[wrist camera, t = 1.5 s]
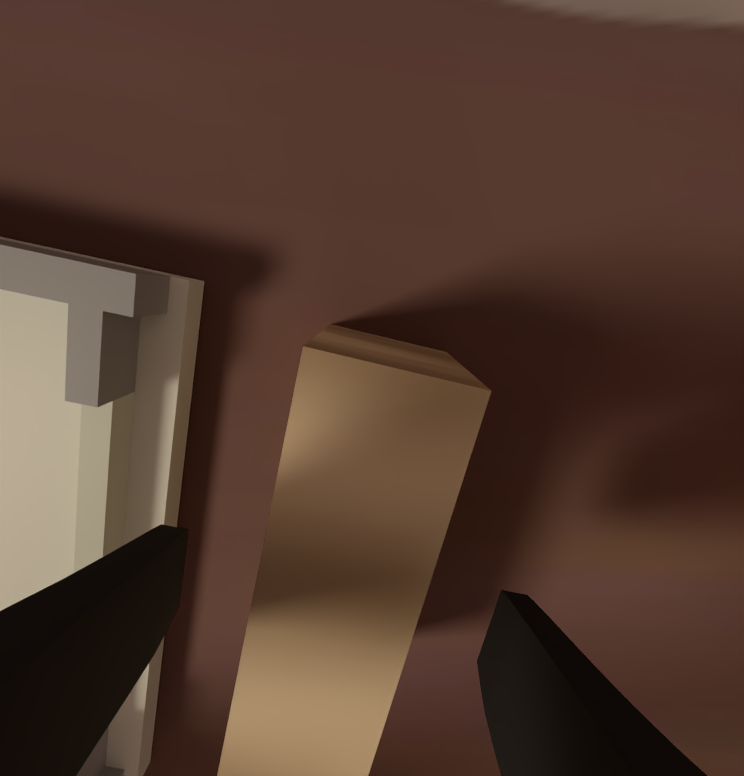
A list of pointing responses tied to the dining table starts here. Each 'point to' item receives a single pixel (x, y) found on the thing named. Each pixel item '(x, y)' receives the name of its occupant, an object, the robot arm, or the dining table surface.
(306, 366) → the tan wooden block
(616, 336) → the dining table surface
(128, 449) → the cream rectangular tray
